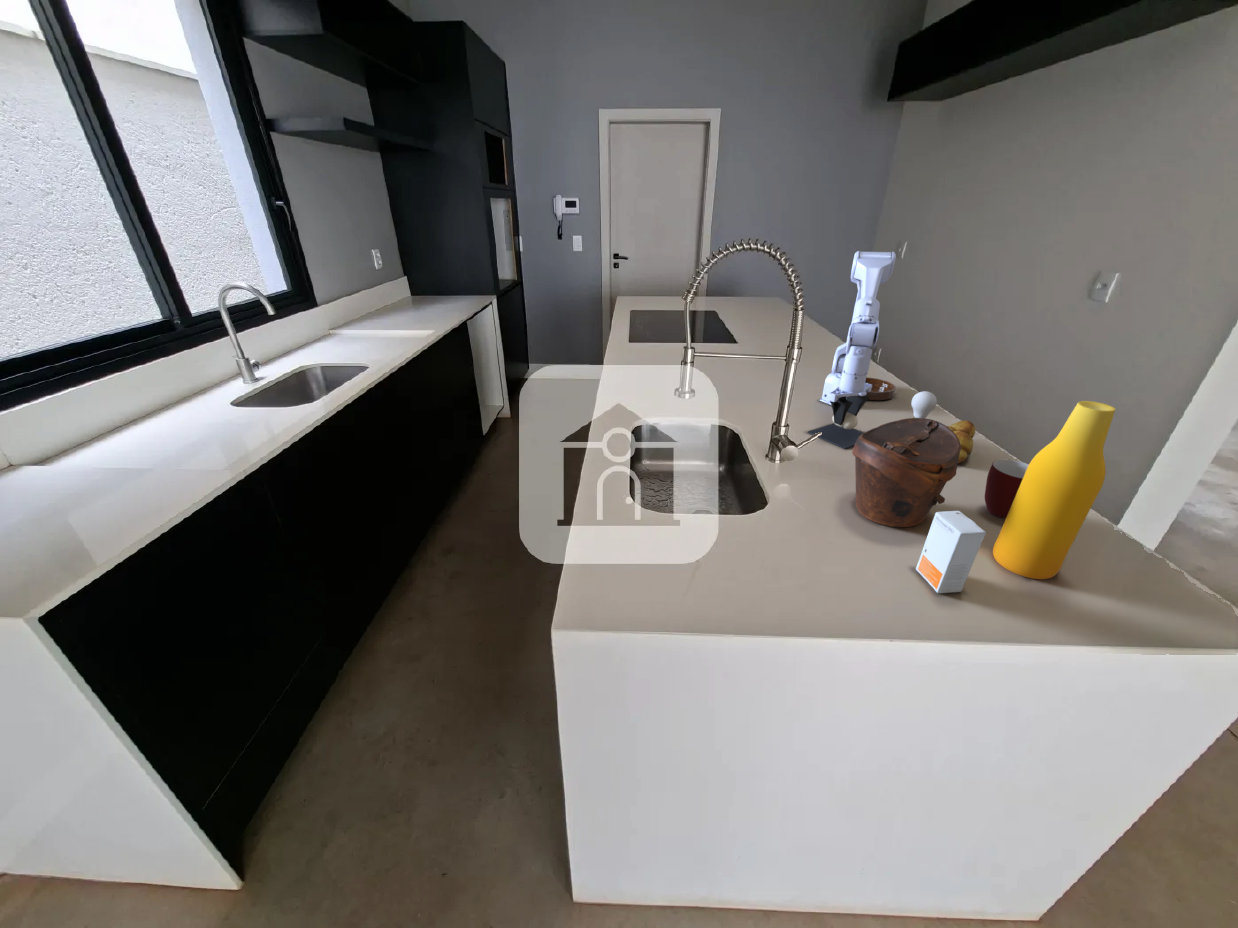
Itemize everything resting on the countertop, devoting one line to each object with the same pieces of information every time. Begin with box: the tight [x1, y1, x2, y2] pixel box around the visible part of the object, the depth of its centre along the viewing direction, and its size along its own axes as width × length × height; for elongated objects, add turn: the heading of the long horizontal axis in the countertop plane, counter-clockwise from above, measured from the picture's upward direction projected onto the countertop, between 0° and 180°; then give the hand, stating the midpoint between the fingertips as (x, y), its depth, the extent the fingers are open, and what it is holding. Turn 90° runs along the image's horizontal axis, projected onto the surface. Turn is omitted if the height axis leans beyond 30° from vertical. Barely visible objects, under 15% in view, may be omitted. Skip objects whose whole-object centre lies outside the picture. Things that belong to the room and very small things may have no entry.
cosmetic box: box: [915, 510, 987, 594], centre depth 79 cm, size 6×4×12 cm
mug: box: [984, 459, 1030, 519], centre depth 96 cm, size 10×8×10 cm
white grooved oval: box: [832, 412, 859, 429], centre depth 130 cm, size 7×4×4 cm, turn 31°
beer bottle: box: [992, 400, 1116, 580], centre depth 79 cm, size 9×9×29 cm
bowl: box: [865, 376, 897, 401], centre depth 160 cm, size 15×15×3 cm
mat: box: [807, 422, 864, 450], centre depth 132 cm, size 12×12×1 cm
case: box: [851, 417, 961, 528], centre depth 96 cm, size 18×20×18 cm
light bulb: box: [910, 390, 938, 419], centre depth 135 cm, size 6×6×10 cm
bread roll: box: [946, 420, 976, 464], centre depth 120 cm, size 13×10×8 cm
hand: (843, 422), depth 131 cm, fingers closed on white grooved oval, 4 cm apart
